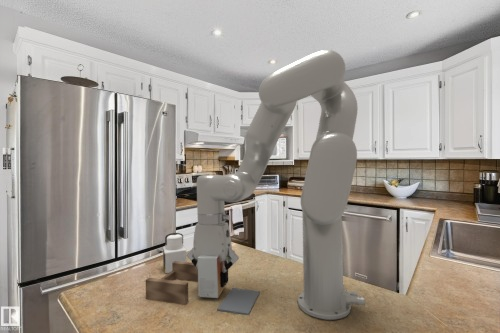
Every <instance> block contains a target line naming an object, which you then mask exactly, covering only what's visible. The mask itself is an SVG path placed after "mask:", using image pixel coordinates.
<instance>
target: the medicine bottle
mask: <svg viewBox="0 0 500 333" xmlns="http://www.w3.org/2000/svg"><path fill="white" fill-rule="evenodd" d="M164 238H165V241H164V242H165V243H164V244H165V245H164V246H163V247H162V250H163V251H162V257H163V259H162V260H163V262H162V265H163V270H164V271H163V272H164V274H165V275H167V274H168V273H170V272H171V271H172V263H173V262H174V261H178V262H187V249H186V247H185V244H184V235H183V234H182V233H180V232H173V233H169V234H167V235H166V236H165V237H164Z"/></svg>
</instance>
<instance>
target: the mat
mask: <svg viewBox="0 0 500 333" xmlns="http://www.w3.org/2000/svg"><path fill="white" fill-rule="evenodd" d="M260 293H261V292H260V290H253V289H245V288H238V287H237V288H236V287H232V288H231V290H229V292H228V293H227V295H225V298H224V299H223V300H222V302H221V303H220V304H219V306H218V307H217V310H216V311H219V312H226V313H231V314H232V313H233V314H237V315H245V316H249V315H250V313H251V311H252V309H253V307H254V305H255V303H256V301H257V298H258V297H259V295H260Z"/></svg>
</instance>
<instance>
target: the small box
mask: <svg viewBox="0 0 500 333" xmlns="http://www.w3.org/2000/svg"><path fill="white" fill-rule="evenodd" d="M197 260H198V282H197V287H198V288H197V289H198V290H197V291H198V298H212V299H218V298H219V297H220V295H221V294H222V292H223V291H224V289H225V288H226V287H227V284H226V285H225V286H224V287H221V284H220V273H221V272H222V269H221V267H220V262H219V257H218V256H199V257H198V258H197Z"/></svg>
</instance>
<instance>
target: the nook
mask: <svg viewBox="0 0 500 333" xmlns="http://www.w3.org/2000/svg"><path fill="white" fill-rule="evenodd" d="M181 280H182V281H181ZM188 281H190V282H197V283H198V270H196V267H195V266H194V264H193V263H192V262H187V261H186V262H178V261H174V262H173V263H172V271H171V272H170V273H167V274H165V275H164V276H163V277H161V278H156V277H148V278H146V279H145V299H146V300H152V301H153V300H154V301H159V302H165V303H174V304H180V305H187V303H189V282H188Z"/></svg>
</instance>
